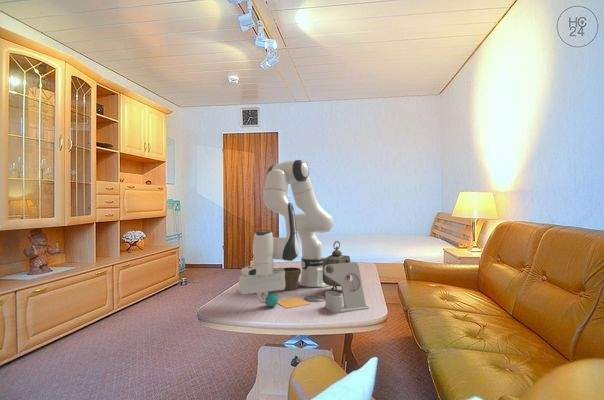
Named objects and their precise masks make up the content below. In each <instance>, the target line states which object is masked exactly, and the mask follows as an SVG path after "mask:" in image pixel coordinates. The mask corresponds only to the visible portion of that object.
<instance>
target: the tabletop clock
mask: <svg viewBox="0 0 604 400" xmlns="http://www.w3.org/2000/svg"><path fill="white" fill-rule="evenodd" d="M336 243H338V244H339V245H338V246H336V247H335V245H336ZM340 247H341V243H340V241H338V240H336V241H334V243H333V249H334V250H333V251H332V253H331V254H330V255H328V256H326V257H323V258H324V259H323V268H324V266H325V265H328V264H338V263H351V258H350V256H349V255H343V253H342V251H341V250H340ZM323 268H322V273H323V282H324V283H325V284H326V285H330V286H332V287H331V289H330V291H335V292H337V293H338V294H339V291H338V287H341V285H340V284H338V283H337V282H335V281H333V280H332V279H330V278H329V277H327V276H325V274H324V271H323ZM326 272H327V273H330V272H331V268H330V267H326ZM347 280H348V281H351V275H348V276H347Z"/></svg>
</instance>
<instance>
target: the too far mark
mask: <svg viewBox="0 0 604 400" xmlns="http://www.w3.org/2000/svg"><path fill="white" fill-rule="evenodd" d="M303 300H305V301H307V302H310V303H311V302H312V303H313V302H314V303H316V302H323V301H326V296H323V295H320V294H319V295H317V294H314V295H313V294H311V295H306V296H304V297H303Z"/></svg>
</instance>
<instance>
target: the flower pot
mask: <svg viewBox="0 0 604 400" xmlns="http://www.w3.org/2000/svg"><path fill="white" fill-rule="evenodd" d="M281 268H282V269H284V270H285V289H284V290H286V291H294V290H296V289H297V288H298V284H299V281H300V279H299V278H300V276H301V273H302V268H300V267H292V266H291V267H281Z"/></svg>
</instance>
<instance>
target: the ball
mask: <svg viewBox="0 0 604 400" xmlns="http://www.w3.org/2000/svg"><path fill="white" fill-rule="evenodd" d="M278 300H279V297H278V294H277V293H276V292H274V291H268V295H267V297H266V302H265V305H266V306H268V307H271V308H272V307H276V305H278Z"/></svg>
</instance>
